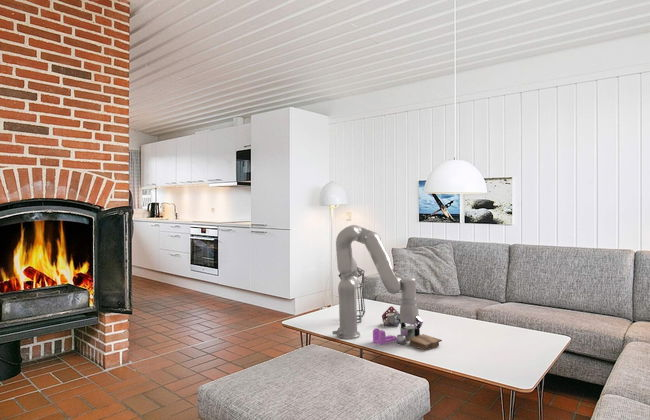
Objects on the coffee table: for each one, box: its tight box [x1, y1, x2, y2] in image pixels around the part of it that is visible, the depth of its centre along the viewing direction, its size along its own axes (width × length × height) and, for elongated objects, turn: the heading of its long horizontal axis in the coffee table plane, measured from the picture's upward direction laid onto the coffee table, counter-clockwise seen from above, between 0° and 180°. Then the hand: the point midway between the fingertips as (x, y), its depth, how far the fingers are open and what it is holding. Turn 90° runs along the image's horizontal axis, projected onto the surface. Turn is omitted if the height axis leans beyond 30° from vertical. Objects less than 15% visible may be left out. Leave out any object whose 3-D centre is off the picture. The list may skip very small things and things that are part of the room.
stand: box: [407, 333, 443, 351], centre depth 210 cm, size 12×12×3 cm
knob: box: [396, 334, 407, 346], centre depth 214 cm, size 4×4×4 cm
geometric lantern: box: [338, 266, 366, 324], centre depth 257 cm, size 16×16×35 cm
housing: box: [399, 324, 415, 342], centre depth 221 cm, size 9×5×6 cm, turn 125°
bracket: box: [372, 327, 397, 346], centre depth 218 cm, size 13×6×7 cm, turn 124°
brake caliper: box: [381, 305, 401, 328], centre depth 246 cm, size 11×11×12 cm
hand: (410, 333), depth 221 cm, fingers open, 9 cm apart
